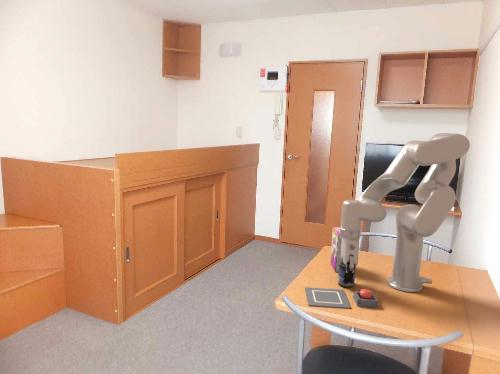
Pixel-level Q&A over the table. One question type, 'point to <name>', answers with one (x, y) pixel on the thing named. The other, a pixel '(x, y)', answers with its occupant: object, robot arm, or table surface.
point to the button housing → (365, 300)
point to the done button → (366, 294)
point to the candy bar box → (336, 249)
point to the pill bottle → (341, 276)
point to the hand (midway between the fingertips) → (346, 278)
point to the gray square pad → (327, 298)
